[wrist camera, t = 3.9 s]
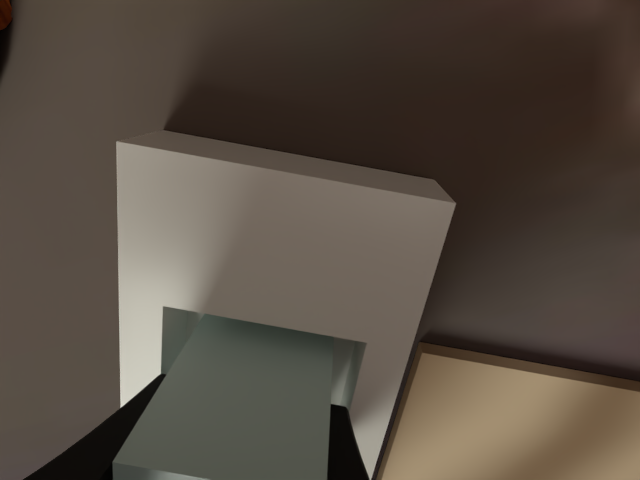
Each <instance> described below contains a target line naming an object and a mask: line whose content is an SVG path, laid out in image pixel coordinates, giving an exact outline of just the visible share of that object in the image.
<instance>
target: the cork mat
mask: <svg viewBox="0 0 640 480" xmlns="http://www.w3.org/2000/svg"><path fill="white" fill-rule="evenodd" d="M376 480H640V382H639V381H633V380H628V379H622V378H617V377H611V376H606V375H600V374H595V373H589V372H583V371H578V370H572V369H567V368H561V367H556V366H550V365H545V364H539V363H534V362H528V361H523V360H517V359H511V358H506V357H500V356H495V355H489V354H484V353H478V352H473V351H467V350H462V349H456V348H451V347H445V346H440V345H434V344H428V343H423V342H419V344H418V347H417V350H416V353H415V356H414V360H413V363H412V366H411V369H410V372H409V376H408V379H407V382H406V385H405V388H404V392H403V395H402V398H401V401H400V404H399V408H398V411H397V414H396V417H395V420H394V423H393V427H392V430H391V433H390V436H389V439H388V443H387V446H386V449H385V452H384V455H383V459H382V462H381V465H380V468H379V471H378V474H377V478H376Z"/></svg>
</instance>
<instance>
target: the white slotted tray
mask: <svg viewBox="0 0 640 480" xmlns="http://www.w3.org/2000/svg"><path fill="white" fill-rule="evenodd" d="M116 150H117V211H118V273H119V334H120V396H121V407H122V406H124V405H125V404H126V403H127V402H128V401H129V400H131V399H132V398H133V397H134V396H135V395H137V394H138V393H139V392H140V391H141V390H142V389H143V388H145V387H146V386H147V385H148V384H149V383H150V382H151V381H153V380H154V379H155V378H156V377H157V376H158V375H160V374H167V373H168V372H169V370H170V368H171V367H172V365H173V363H174V362H175V360H176V359H177V357H178V355H179V354H180V352H181V351H182V349H183V347H184V346H185V344H186V342H187V341H188V339H189V338H190V336H191V334H192V333H193V331H194V330H195V328H196V326H197V325H198V323H199V321H200V320H201V318H202V317H203V315H204V313H205V314H210V315H216V316H221V317H227V318H232V319H238V320H243V321H249V322H254V323H260V324H265V325H271V326H277V327H282V328H288V329H293V330H299V331H304V332H310V333H315V334H321V335H326V336H332V337H334V345H333V366H332V386H331V404H334V405H340V406H345V407H346V408H347V409H348V410H349V415H350V420H351V424H352V428H353V431H354V435H355V438H356V442H357V445H358V448H359V451H360V454H361V457H362V460H363V463H364V465H365V468H366V471H367V473H368V476H369V479H370V480H371V478H372V475H373V472H374V469H375V465H376V462H377V459H378V456H379V452H380V449H381V446H382V443H383V439H384V436H385V433H386V430H387V426H388V423H389V420H390V417H391V413H392V410H393V407H394V404H395V400H396V397H397V394H398V391H399V387H400V384H401V381H402V378H403V374H404V371H405V368H406V365H407V361H408V358H409V355H410V352H411V348H412V345H413V342H414V339H415V335H416V332H417V329H418V326H419V322H420V319H421V316H422V313H423V309H424V306H425V303H426V300H427V296H428V293H429V290H430V287H431V283H432V280H433V277H434V274H435V270H436V267H437V264H438V261H439V257H440V254H441V251H442V248H443V244H444V241H445V238H446V235H447V231H448V228H449V225H450V222H451V218H452V215H453V212H454V209H455V205H456V203H455V202H454V200H453V199H452V198H451V197H450V196H449V195H448V194H447V193H446V192H445V191H444V190H443V189H442V188H441V186H440V185H439V184H438V183H437V182H436V181H435V180H434V179H428V178H423V177H417V176H412V175H406V174H401V173H395V172H390V171H384V170H379V169H373V168H368V167H362V166H357V165H352V164H346V163H341V162H335V161H330V160H324V159H319V158H313V157H308V156H302V155H297V154H291V153H286V152H280V151H275V150H269V149H264V148H259V147H253V146H248V145H242V144H237V143H231V142H226V141H220V140H215V139H209V138H204V137H198V136H193V135H187V134H182V133H176V132H171V131H166V130H160V131H156V132H152V133H148V134H144V135H140V136H136V137H132V138H128V139H124V140H120V141H116Z"/></svg>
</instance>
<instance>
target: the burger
mask: <svg viewBox="0 0 640 480" xmlns="http://www.w3.org/2000/svg"><path fill="white" fill-rule="evenodd" d="M11 11H12V7H11V5H10V2H9V0H0V30H2V29H4V28H6V27H7V25H8V24H9V23H10V22H11V20H12V17H11Z"/></svg>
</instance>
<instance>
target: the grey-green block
mask: <svg viewBox="0 0 640 480" xmlns="http://www.w3.org/2000/svg"><path fill="white" fill-rule="evenodd" d="M333 345H334V337H332V336H326V335H321V334H315V333H310V332H304V331H299V330H293V329H288V328H282V327H277V326H271V325H265V324H260V323H254V322H249V321H243V320H238V319H232V318H227V317H221V316H216V315H210V314H205V313H204V315H203V317H202V318H201V320H200V321H199V323H198V325H197V326H196V328H195V330H194V331H193V333H192V334H191V336H190V338H189V339H188V341H187V342H186V344H185V346H184V347H183V349H182V351H181V352H180V354H179V355H178V357H177V359H176V360H175V362H174V363H173V365H172V367H171V368H170V370H169V372H168V373H167V375H166V376H165V378H164V380H163V381H162V383H161V384H160V386H159V388H158V389H157V391H156V393H155V394H154V396H153V397H152V399H151V401H150V402H149V404H148V405H147V407H146V409H145V410H144V412H143V414H142V415H141V417H140V418H139V420H138V422H137V423H136V425H135V426H134V428H133V430H132V431H131V433H130V435H129V436H128V438H127V439H126V441H125V443H124V444H123V446H122V447H121V449H120V451H119V452H118V454H117V456H116V457H115V459H114V460H113V462H112V463H113V480H327V468H328V448H329V427H330V407H331V386H332V366H333Z"/></svg>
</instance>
